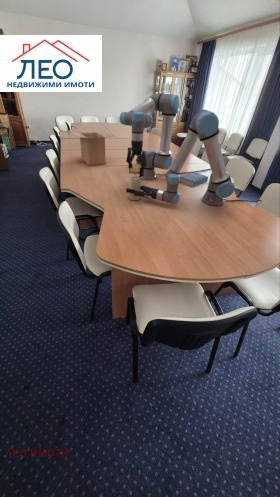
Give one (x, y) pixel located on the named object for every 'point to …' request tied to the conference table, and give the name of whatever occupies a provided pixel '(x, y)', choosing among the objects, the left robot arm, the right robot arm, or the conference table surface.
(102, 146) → the box
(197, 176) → the book
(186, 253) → the conference table surface
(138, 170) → the lid
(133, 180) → the jar
